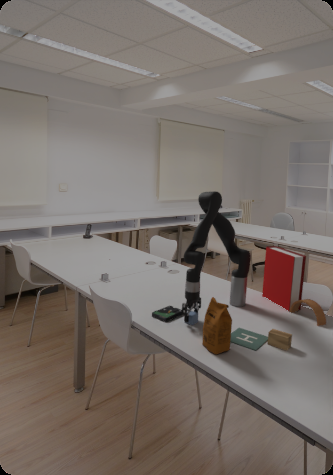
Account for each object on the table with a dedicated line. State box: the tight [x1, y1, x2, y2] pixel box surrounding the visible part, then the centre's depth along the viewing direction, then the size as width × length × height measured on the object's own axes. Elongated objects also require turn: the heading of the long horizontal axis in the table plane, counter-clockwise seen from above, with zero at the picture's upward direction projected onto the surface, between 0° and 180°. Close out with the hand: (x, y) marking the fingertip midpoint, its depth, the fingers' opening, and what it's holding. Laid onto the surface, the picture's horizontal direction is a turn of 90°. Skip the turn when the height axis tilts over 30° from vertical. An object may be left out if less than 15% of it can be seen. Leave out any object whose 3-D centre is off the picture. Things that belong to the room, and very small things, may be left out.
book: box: [261, 245, 307, 312], centre depth 212 cm, size 27×8×32 cm, turn 20°
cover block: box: [267, 328, 293, 352], centre depth 160 cm, size 5×9×6 cm, turn 52°
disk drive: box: [151, 305, 183, 323], centre depth 190 cm, size 10×3×15 cm
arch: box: [289, 298, 327, 327], centre depth 192 cm, size 6×20×10 cm, turn 25°
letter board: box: [230, 327, 268, 352], centre depth 166 cm, size 16×16×1 cm
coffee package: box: [201, 296, 233, 355], centre depth 155 cm, size 10×12×22 cm
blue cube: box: [184, 310, 199, 326], centre depth 182 cm, size 5×5×5 cm
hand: (191, 319), depth 182 cm, fingers open, 8 cm apart
